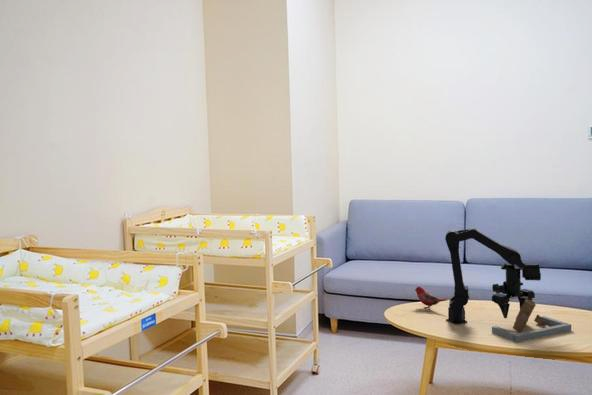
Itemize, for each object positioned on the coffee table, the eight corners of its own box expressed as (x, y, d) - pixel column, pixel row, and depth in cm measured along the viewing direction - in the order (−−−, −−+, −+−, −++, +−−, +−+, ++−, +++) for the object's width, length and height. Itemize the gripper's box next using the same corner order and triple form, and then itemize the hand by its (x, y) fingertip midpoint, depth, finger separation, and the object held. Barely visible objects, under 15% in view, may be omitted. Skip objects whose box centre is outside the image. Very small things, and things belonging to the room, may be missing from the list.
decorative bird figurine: (416, 305, 250) (416, 285, 249) (449, 312, 237) (449, 290, 236) (413, 306, 248) (412, 286, 247) (446, 313, 235) (445, 292, 234)
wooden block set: (521, 338, 206) (532, 319, 202) (502, 325, 212) (512, 305, 207) (542, 326, 217) (552, 307, 213) (523, 314, 223) (533, 295, 219)
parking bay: (517, 342, 196) (517, 336, 195) (491, 332, 207) (491, 326, 207) (571, 330, 207) (571, 324, 207) (544, 321, 219) (544, 316, 219)
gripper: (514, 273, 226) (514, 308, 227) (481, 279, 218) (482, 315, 219) (535, 278, 216) (535, 314, 217) (502, 284, 208) (502, 322, 209)
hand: (513, 316), depth 216 cm, fingers open, 9 cm apart
